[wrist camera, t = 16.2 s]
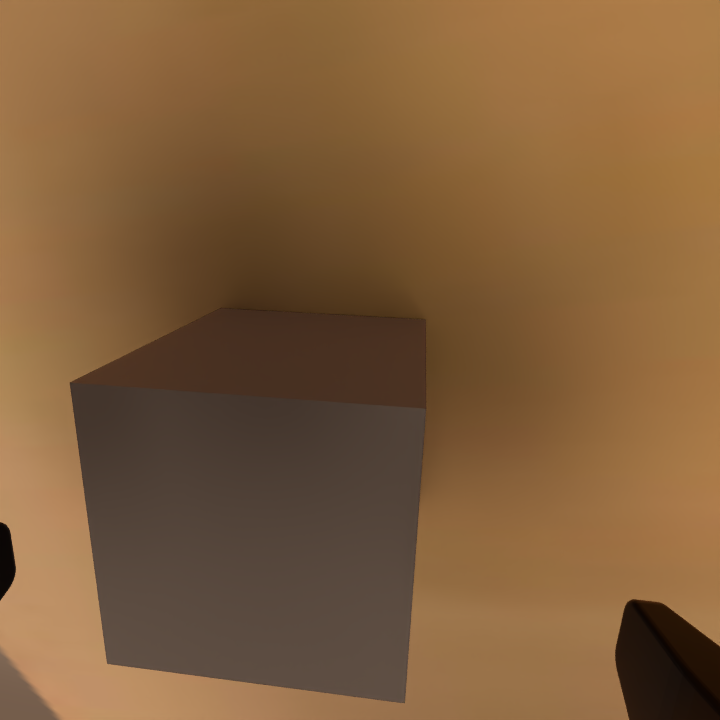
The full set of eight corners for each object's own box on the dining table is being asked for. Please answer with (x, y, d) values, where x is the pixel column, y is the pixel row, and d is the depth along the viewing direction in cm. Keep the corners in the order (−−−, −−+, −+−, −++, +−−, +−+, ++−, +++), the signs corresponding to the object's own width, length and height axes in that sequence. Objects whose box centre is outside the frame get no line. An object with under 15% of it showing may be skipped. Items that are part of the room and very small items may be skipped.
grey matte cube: (413, 506, 21) (405, 703, 13) (228, 489, 22) (107, 663, 14) (425, 319, 19) (426, 408, 11) (220, 308, 20) (69, 382, 11)
